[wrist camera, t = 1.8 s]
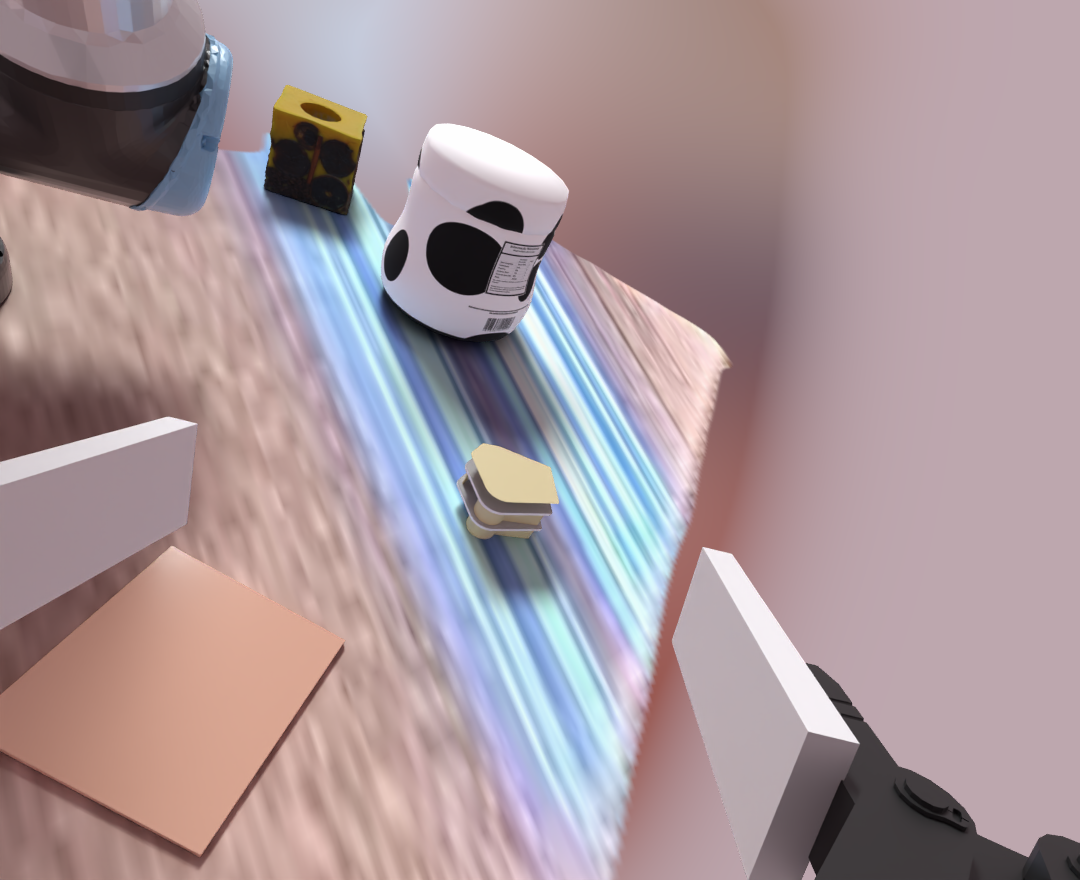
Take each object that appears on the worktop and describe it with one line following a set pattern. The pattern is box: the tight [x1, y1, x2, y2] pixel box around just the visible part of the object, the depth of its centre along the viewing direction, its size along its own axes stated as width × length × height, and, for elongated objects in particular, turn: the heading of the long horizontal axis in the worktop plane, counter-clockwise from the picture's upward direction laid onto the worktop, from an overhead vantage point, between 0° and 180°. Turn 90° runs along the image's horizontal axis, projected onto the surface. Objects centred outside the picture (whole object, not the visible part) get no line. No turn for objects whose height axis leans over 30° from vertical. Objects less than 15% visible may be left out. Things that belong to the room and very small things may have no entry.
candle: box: [264, 85, 367, 215], centre depth 74 cm, size 10×10×10 cm
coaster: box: [0, 546, 345, 857], centre depth 31 cm, size 12×12×1 cm
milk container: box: [381, 124, 569, 342], centre depth 64 cm, size 17×17×18 cm
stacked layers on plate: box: [457, 443, 559, 539], centre depth 48 cm, size 10×9×6 cm
